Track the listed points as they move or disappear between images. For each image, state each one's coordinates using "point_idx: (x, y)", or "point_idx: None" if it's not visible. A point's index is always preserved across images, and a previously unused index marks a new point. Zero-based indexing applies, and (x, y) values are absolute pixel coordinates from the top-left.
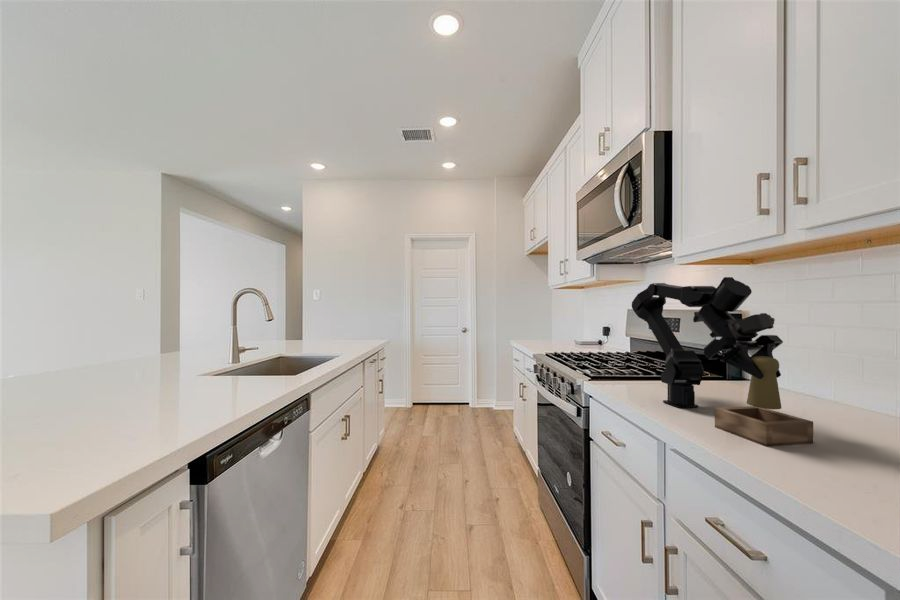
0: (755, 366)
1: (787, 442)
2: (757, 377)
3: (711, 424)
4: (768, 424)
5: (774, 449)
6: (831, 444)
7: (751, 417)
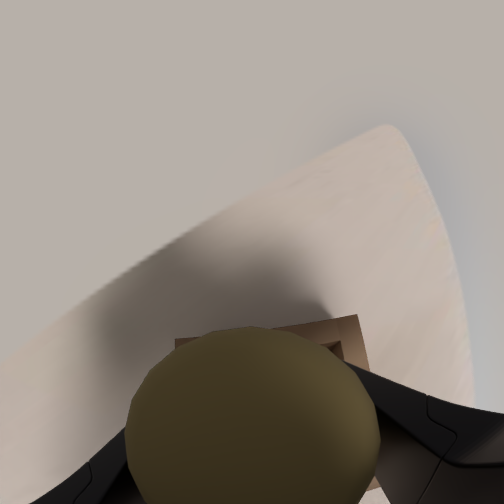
0: (386, 387)
1: None
2: None
3: None
4: (348, 316)
5: (336, 316)
6: (160, 340)
7: None
